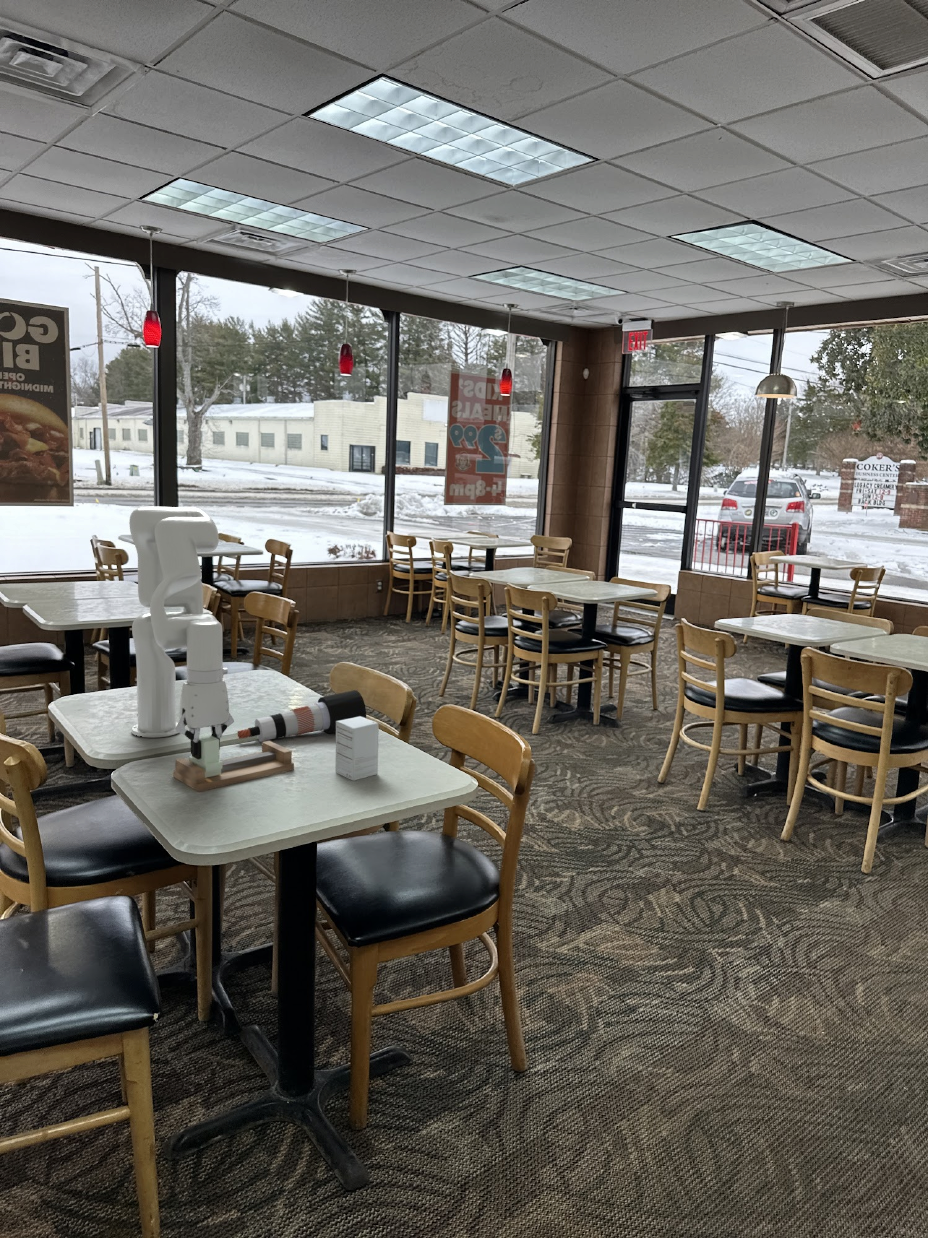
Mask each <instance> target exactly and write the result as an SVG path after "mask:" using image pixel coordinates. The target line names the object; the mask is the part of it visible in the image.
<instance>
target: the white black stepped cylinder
mask: <svg viewBox="0 0 928 1238" xmlns="http://www.w3.org/2000/svg"><path fill="white" fill-rule="evenodd" d="M359 716H361V717H364V718H367V709H366V704H365V700H364V698H363V696H362V694H361V692H360V691H358V689H357V690H356V689H354V690H349V691H343V692H341V693H339V692H338V693H334V694H331V695H324V696H320V697H319V698H318V700H317V703H316V702H315V703H314V704H311V705H310V704H309V705H305V706H302V707H297V708H293V709H292V708H291V709H289V710H287V711H283V712H279V713H277V714H272V715H271V714H270V715H269V716H264V717H258V718H255V721H254V726H251V727H248V728H245V729H241V730H238V731H237V738H238V739H245V738H252V737H257V740H258V742H260V743H262V742H265V741H272V740H276V739H281V738H287V737H292V736H300V735H304V734H309V733H312V732H317V731H323V732H325V733H326V734H332V733H336V721H340V720H345V719H350V718H355V717H359Z"/></svg>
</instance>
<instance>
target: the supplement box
mask: <svg viewBox="0 0 928 1238" xmlns="http://www.w3.org/2000/svg"><path fill="white" fill-rule="evenodd" d="M379 730H380V729H379V722H377V721H375V720H372V719H369V718H367V717H366V718H364V717H361V716H359V717H355V718H350V719H345V720H340V721H336V732H335V769H334V771H335V772H336V774H338V775H340V776H341V777H345V778H346V779H349V780H350V781H353V782H354V781H356V780H361V779H365V778H368V777H372V776H377V775H378V774H379V732H380V731H379Z"/></svg>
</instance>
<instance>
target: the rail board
mask: <svg viewBox="0 0 928 1238" xmlns="http://www.w3.org/2000/svg"><path fill="white" fill-rule="evenodd" d="M292 753H293V751H292V750H290V749H289V748H286V747H284V746H282V745H279V744H277V743H275V742H273V741H272V740H266V741H262V742H261V751H259V752H254V753H250V754H249V753H248V754H244V755H241V756H234V757H231V758H227V759H221V760H220V759H219V761H221V762H222V769H221V774H220V775H216V776H211V777H207V778H205V769H203V768H201V767H199V766H197V765H196V764H194V763H192V762H190V761H189V759H186V758H185V757H181V758H176V759H175V760H174V761H175V763H174V764H175V766H174V767H175V769H174V770H173V771H172V772H173V777H174V778H175V779H176V780H178V781H180V782H182V783H183V784H185V785H187V786H188V787H190V788H191V789H193V790H195V791H196V792H199V793H200V792H205V791H209V790H211V789H216V788H221V787H224V786H229V785H234V784H239V783H242V782H247V781H251V780H256V779H260V778H263V777H268V776H272V775H277V774H279V773H280V774H282V773H285V772H288V771H293V770H294V769H295V763H294V762H292V759H293V757H292V756H293V754H292Z"/></svg>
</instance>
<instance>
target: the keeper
mask: <svg viewBox="0 0 928 1238" xmlns="http://www.w3.org/2000/svg"><path fill="white" fill-rule="evenodd" d="M211 735H212V734H209V733H207V732H205V733H200V735H199V741H200V742H201V759H196V758H194V757H193V756H192V755H189V756H188V761H190V762H192V763H194V764H196V765H197V766H199V767H201V768H203V769H205V778H207V777H211V776H216V775H220V774H221V769H222V762H221V761H220V750H219V739H217V738H215V737H213V736H211Z"/></svg>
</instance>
